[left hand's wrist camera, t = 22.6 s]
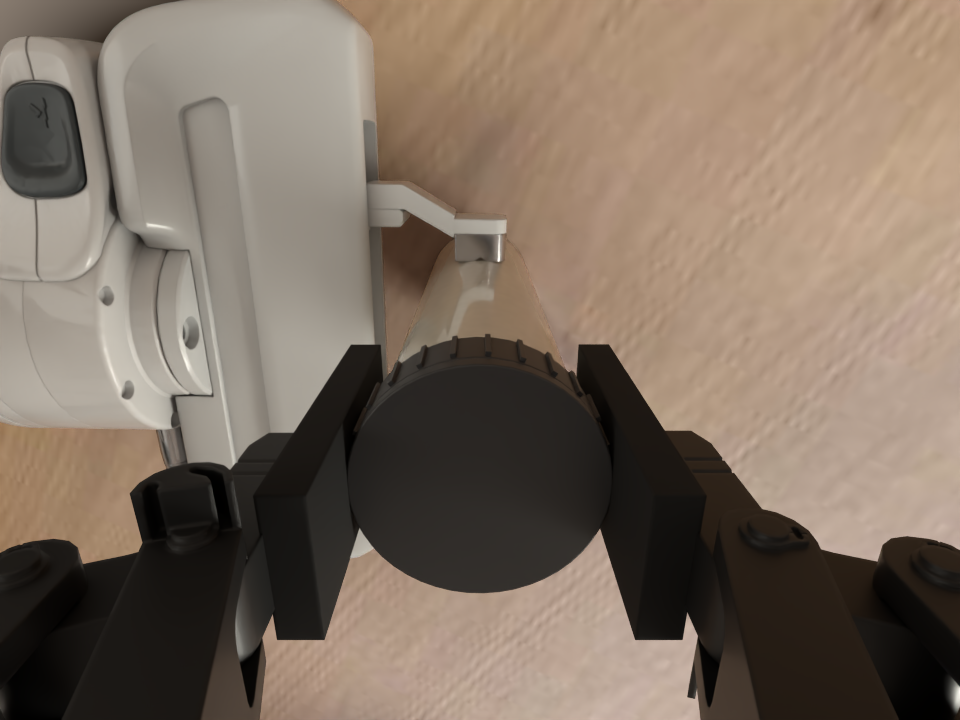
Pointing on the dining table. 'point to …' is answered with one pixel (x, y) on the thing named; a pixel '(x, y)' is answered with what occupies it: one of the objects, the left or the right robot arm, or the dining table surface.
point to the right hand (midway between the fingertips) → (503, 316)
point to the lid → (479, 466)
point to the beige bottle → (479, 304)
